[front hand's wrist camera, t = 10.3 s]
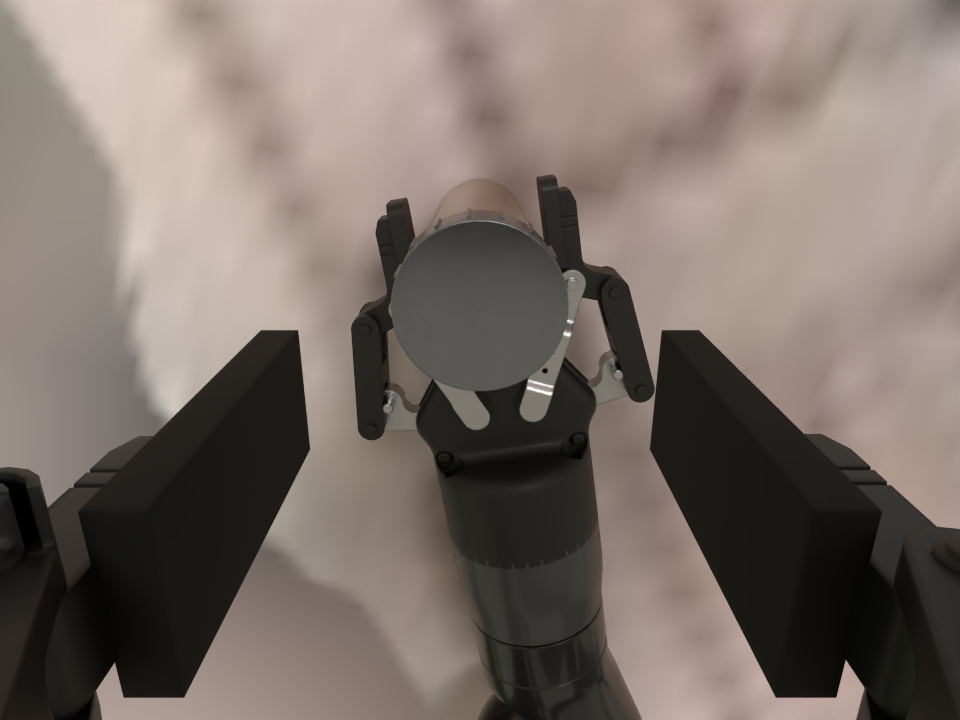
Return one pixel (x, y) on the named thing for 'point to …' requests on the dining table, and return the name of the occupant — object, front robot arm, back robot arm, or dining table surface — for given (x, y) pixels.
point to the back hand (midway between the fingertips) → (470, 190)
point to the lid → (479, 301)
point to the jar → (480, 199)
